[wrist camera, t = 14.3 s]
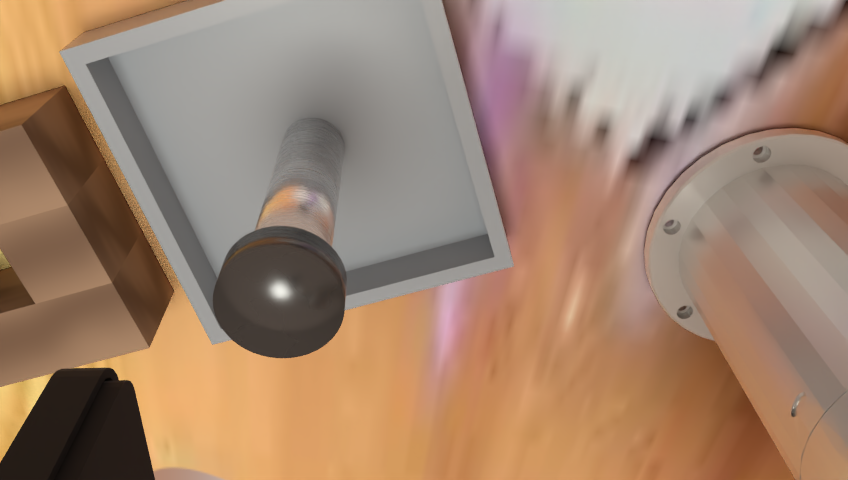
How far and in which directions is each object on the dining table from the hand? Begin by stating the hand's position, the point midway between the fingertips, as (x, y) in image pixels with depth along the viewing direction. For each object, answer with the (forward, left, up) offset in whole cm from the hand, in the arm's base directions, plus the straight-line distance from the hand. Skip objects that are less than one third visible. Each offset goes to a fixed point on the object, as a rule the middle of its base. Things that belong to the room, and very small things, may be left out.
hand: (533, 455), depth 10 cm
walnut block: (-6, +24, -30) cm, 39 cm away
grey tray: (-6, +8, -30) cm, 32 cm away
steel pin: (-6, +8, -29) cm, 31 cm away
